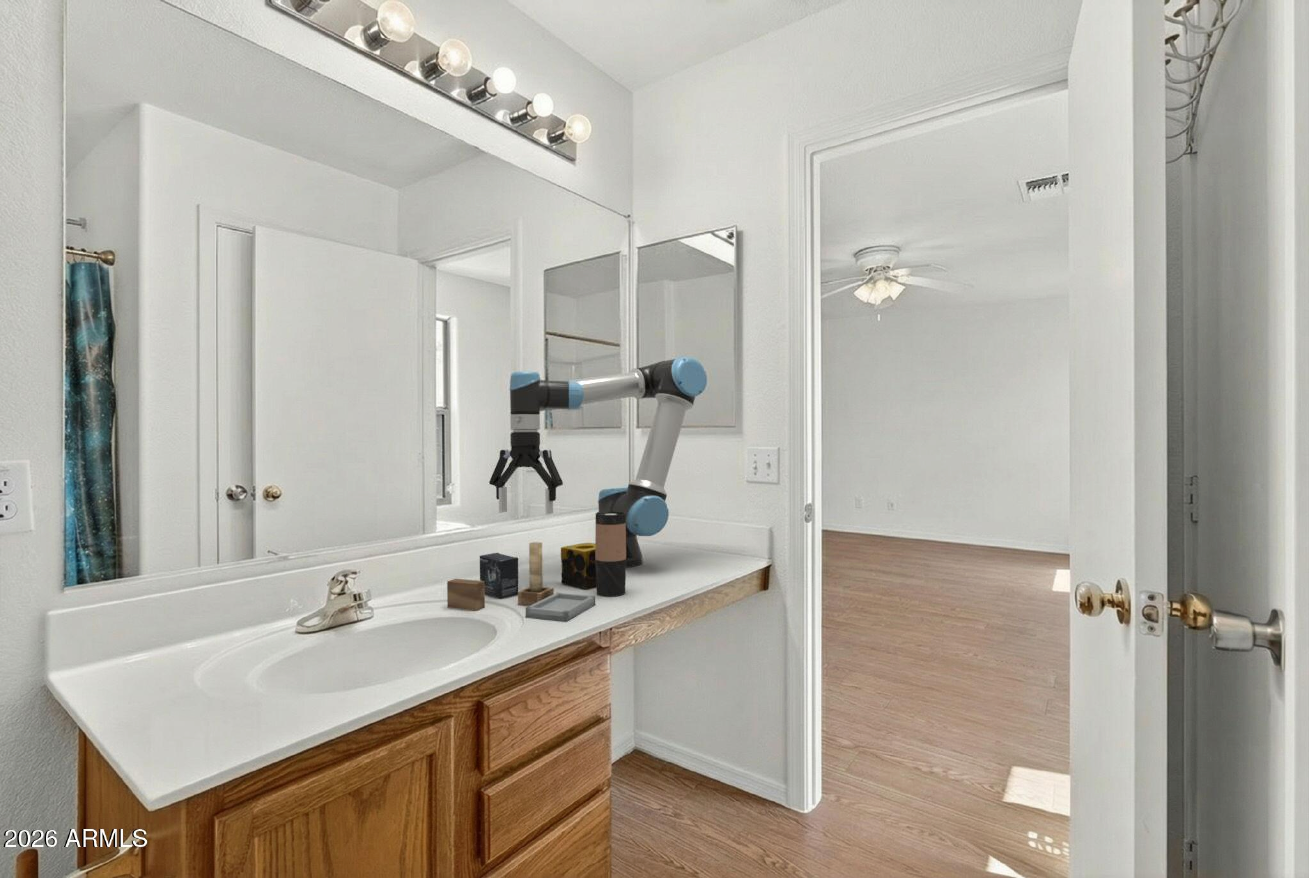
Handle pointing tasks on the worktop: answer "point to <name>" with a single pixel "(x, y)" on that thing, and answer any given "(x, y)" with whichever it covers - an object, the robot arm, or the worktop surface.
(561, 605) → the tray
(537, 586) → the dowel
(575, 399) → the robot arm
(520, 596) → the socket
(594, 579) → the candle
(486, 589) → the box
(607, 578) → the travel mug
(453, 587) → the wooden block
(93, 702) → the worktop surface
